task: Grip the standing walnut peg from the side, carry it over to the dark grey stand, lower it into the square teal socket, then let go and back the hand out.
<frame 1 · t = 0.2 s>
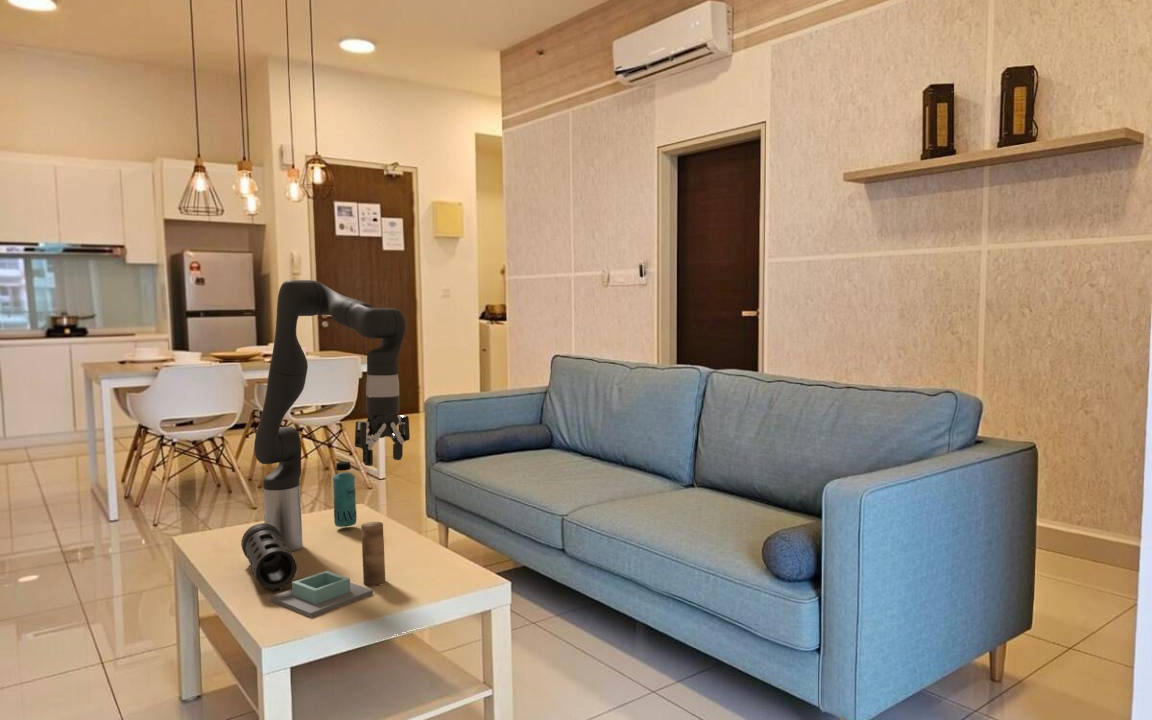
hand: (383, 462, 182), 29 cm above the table, tool pointing down, fingers open, 8 cm apart
muzzle brake: (268, 576, 191), on the table
walnut peg: (374, 582, 184), on the table
socket stand: (321, 597, 175), on the table
beverage bottle: (346, 529, 230), on the table
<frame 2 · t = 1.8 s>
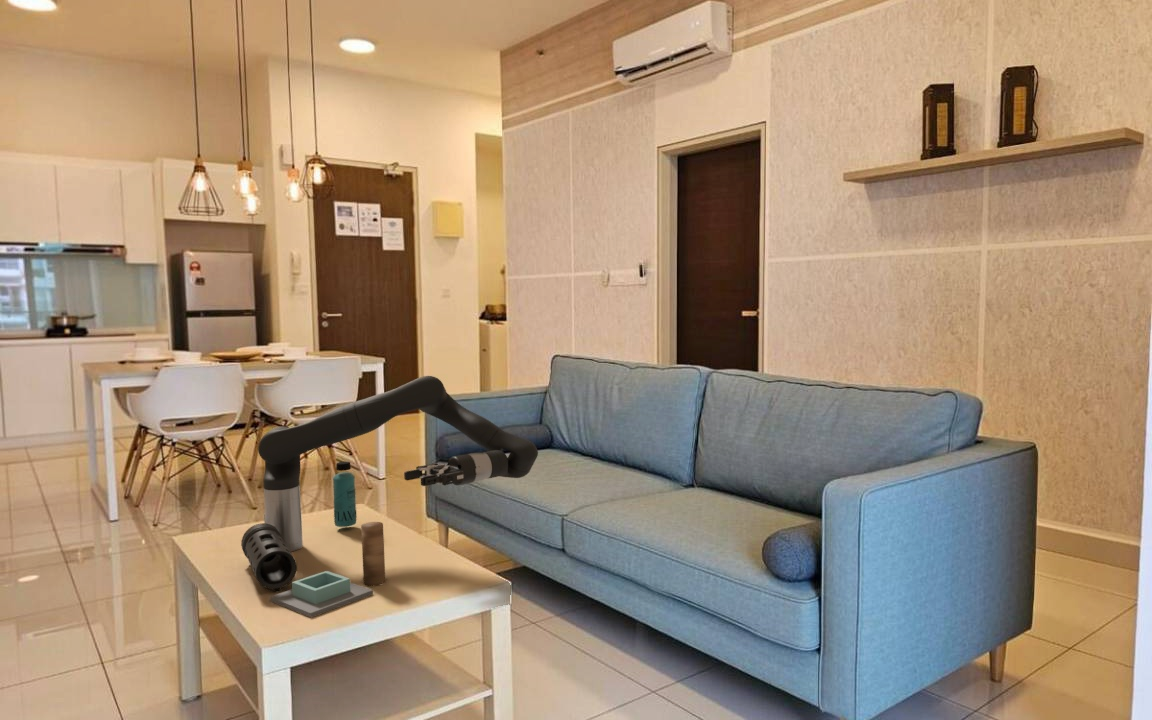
hand: (413, 478, 190), 23 cm above the table, tool horizontal, fingers open, 8 cm apart
nothing on the table moved.
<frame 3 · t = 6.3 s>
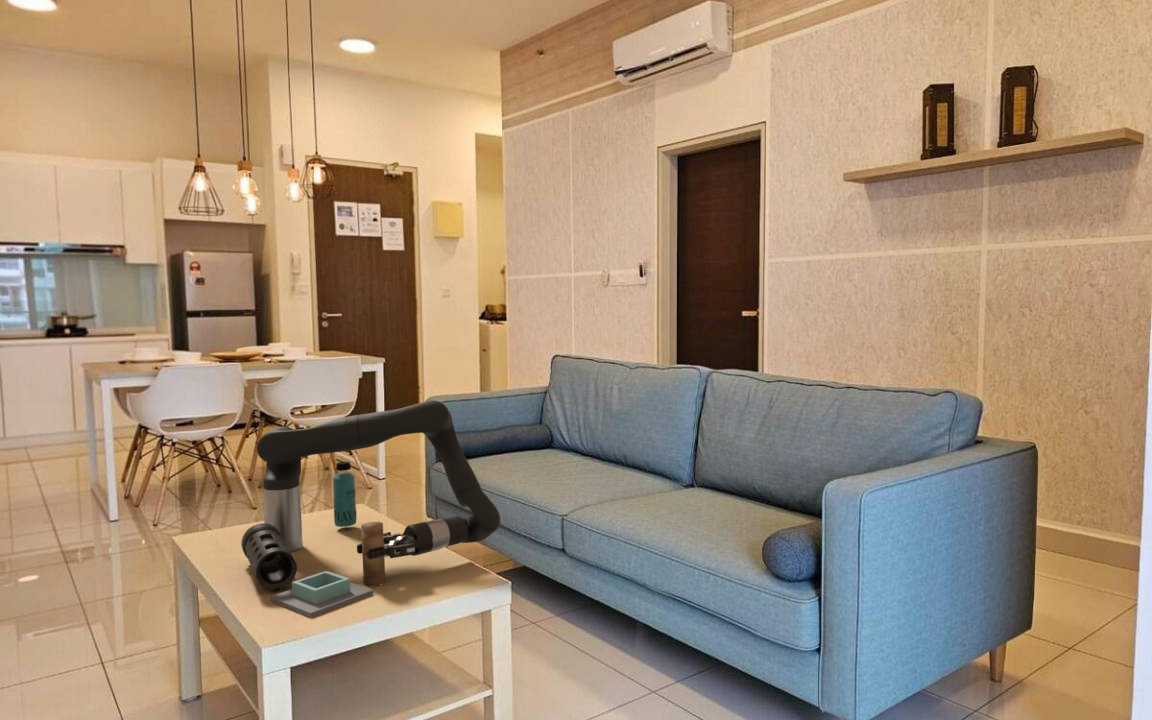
hand: (362, 551, 182), 8 cm above the table, tool horizontal, fingers closed on walnut peg, 5 cm apart
walnut peg: (374, 582, 184), on the table, touching gripper
everything else where it was.
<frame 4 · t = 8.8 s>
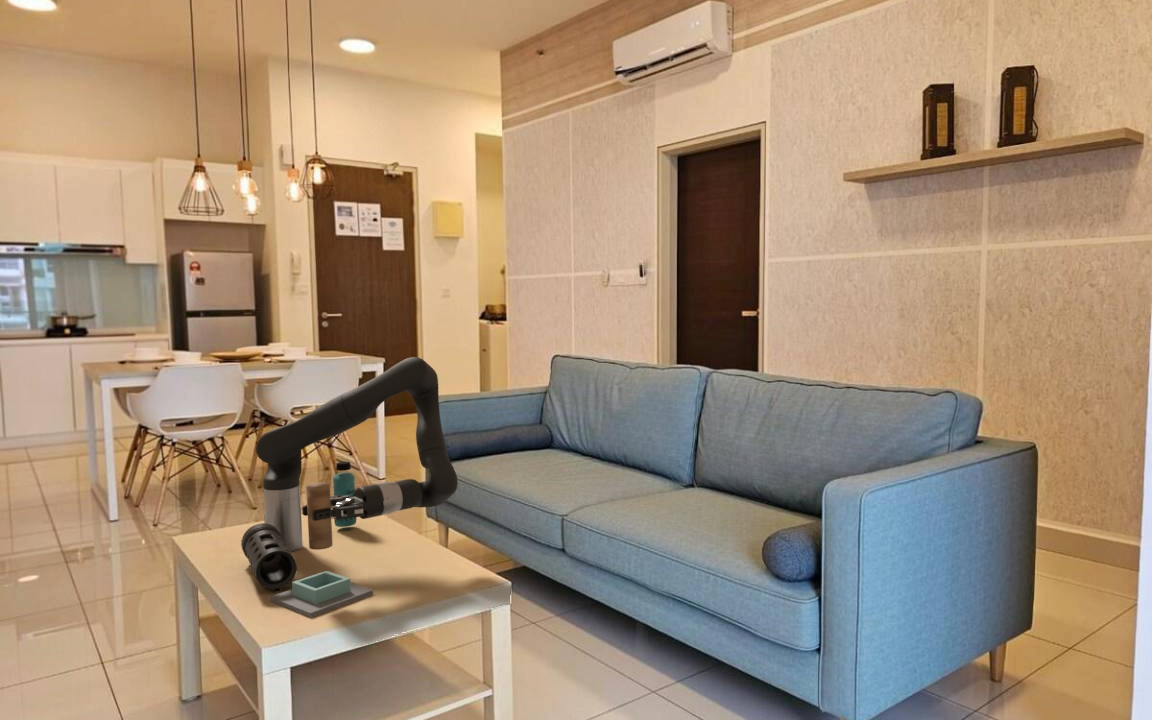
hand: (307, 513, 172), 20 cm above the table, tool horizontal, fingers closed on walnut peg, 5 cm apart
walnut peg: (321, 546, 175), point 12 cm above the table, touching gripper
everything else where it was.
when the fingers open (10 cm above the table, at t = 11.6 s): walnut peg drops 1 cm, resting on socket stand.
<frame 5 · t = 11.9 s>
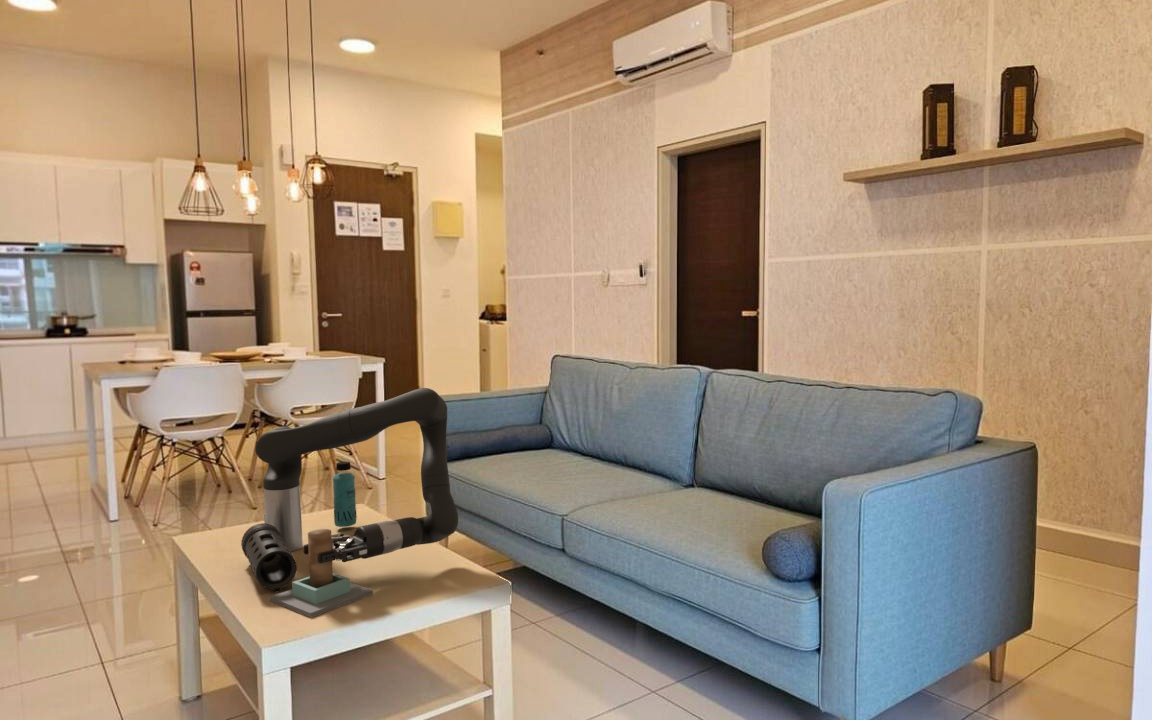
hand: (311, 554, 173), 11 cm above the table, tool horizontal, fingers open, 8 cm apart
walnut peg: (321, 593, 175), point 1 cm above the table, touching socket stand
everything else where it was.
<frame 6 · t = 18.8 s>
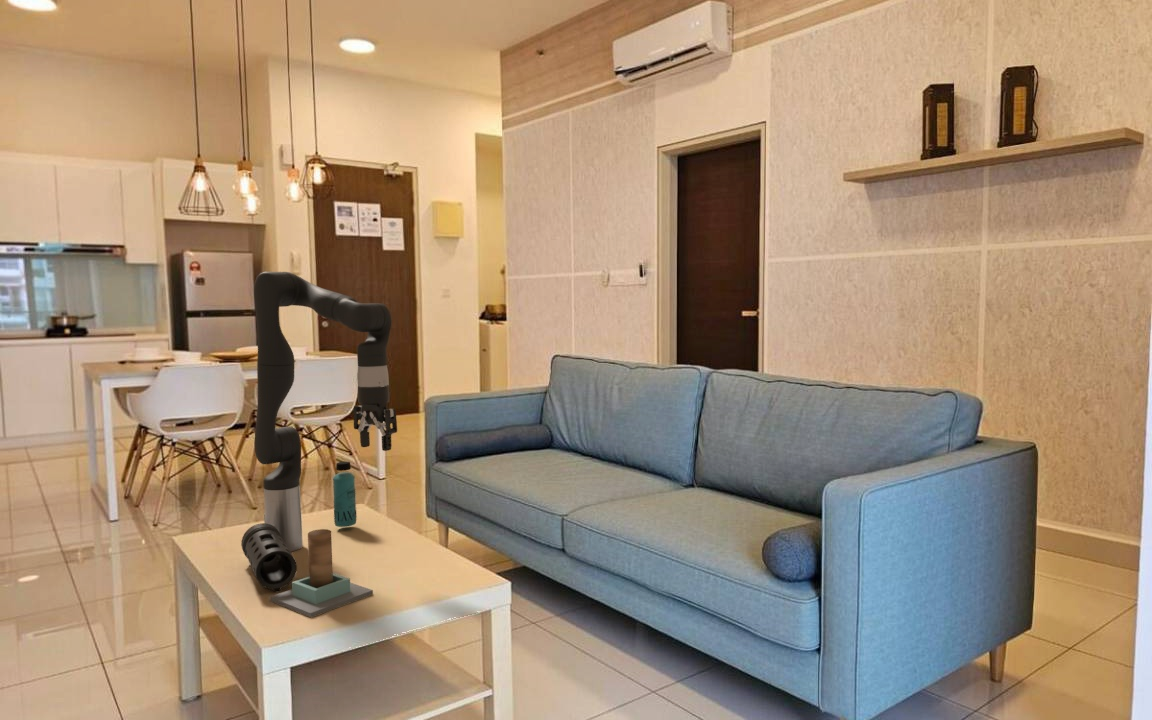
hand: (375, 448, 193), 30 cm above the table, tool pointing down, fingers open, 8 cm apart
nothing on the table moved.
at the end: walnut peg 0.1 cm off-centre on the socket stand, point 1.0 cm above the socket stand's base; walnut peg tilted 1°; the gripper is holding nothing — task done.
